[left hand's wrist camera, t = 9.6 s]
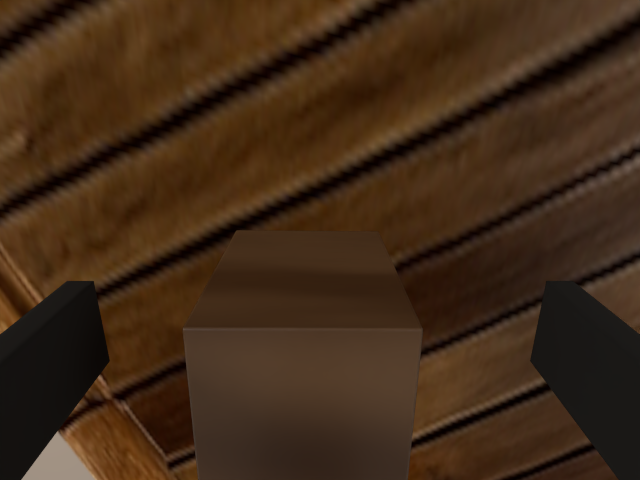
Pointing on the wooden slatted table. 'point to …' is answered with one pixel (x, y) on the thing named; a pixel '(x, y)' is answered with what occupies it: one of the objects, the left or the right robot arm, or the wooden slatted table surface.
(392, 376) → the bar
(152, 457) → the wooden slatted table surface
